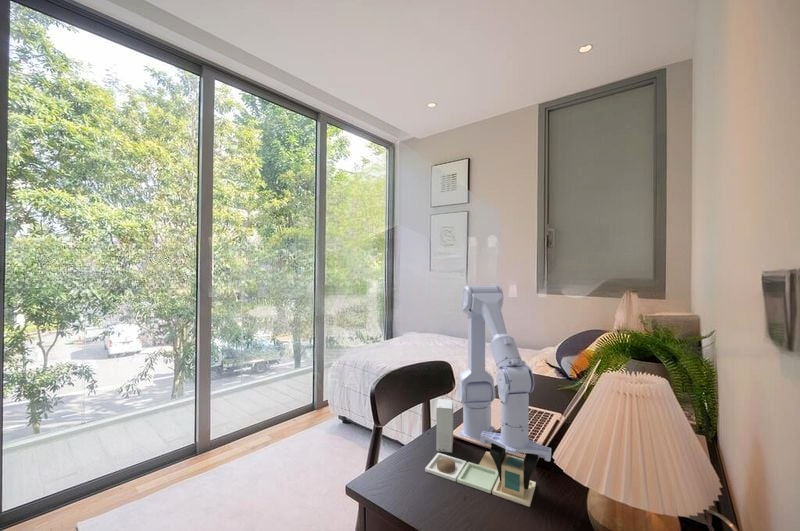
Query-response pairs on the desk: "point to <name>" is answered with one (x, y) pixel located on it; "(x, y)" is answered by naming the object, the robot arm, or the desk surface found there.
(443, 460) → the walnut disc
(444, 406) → the skincare box
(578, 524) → the desk surface
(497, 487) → the tray sand
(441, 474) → the tray white
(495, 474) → the tray sage
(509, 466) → the beige block teal panels
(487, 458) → the cork pad
